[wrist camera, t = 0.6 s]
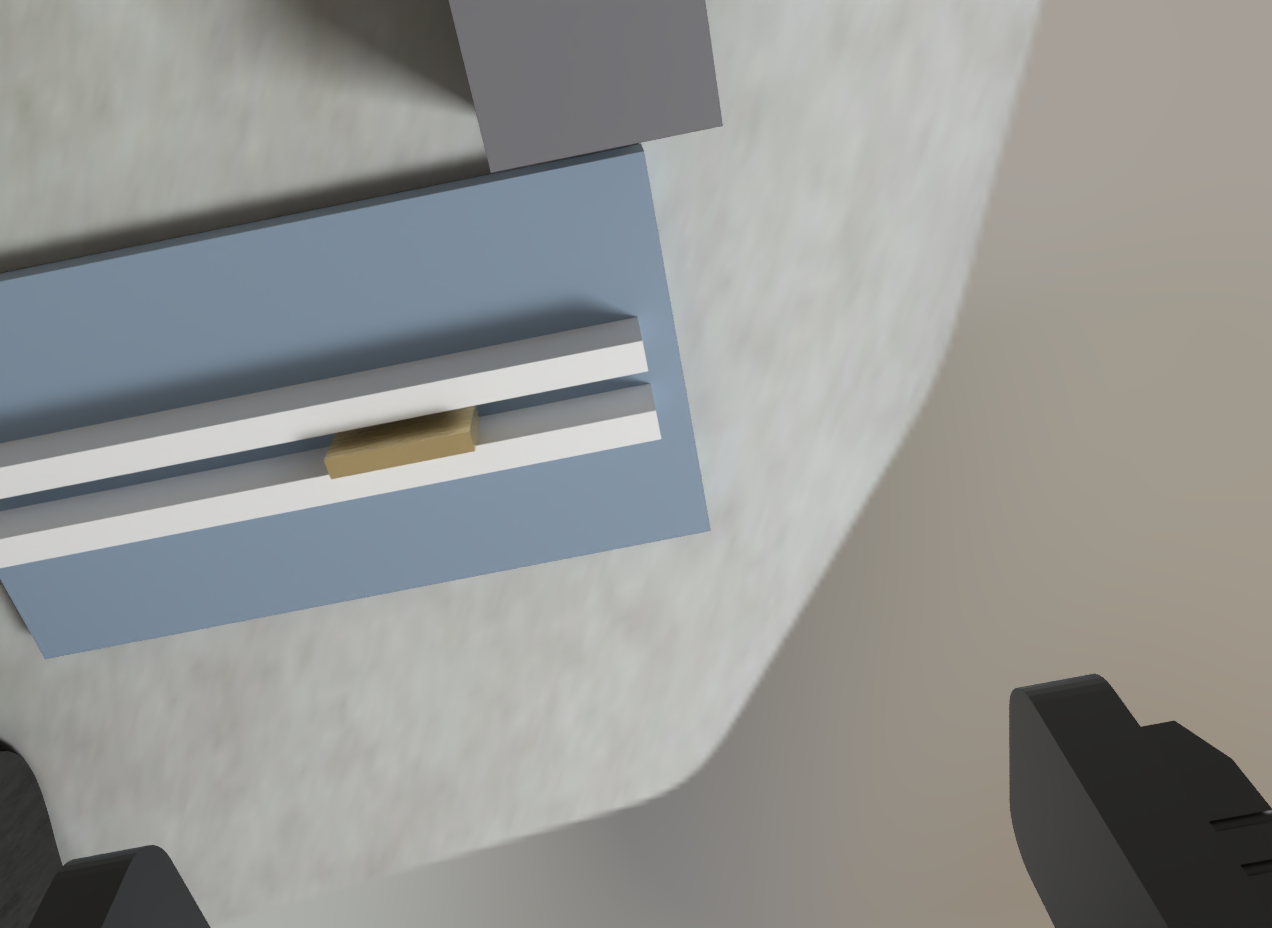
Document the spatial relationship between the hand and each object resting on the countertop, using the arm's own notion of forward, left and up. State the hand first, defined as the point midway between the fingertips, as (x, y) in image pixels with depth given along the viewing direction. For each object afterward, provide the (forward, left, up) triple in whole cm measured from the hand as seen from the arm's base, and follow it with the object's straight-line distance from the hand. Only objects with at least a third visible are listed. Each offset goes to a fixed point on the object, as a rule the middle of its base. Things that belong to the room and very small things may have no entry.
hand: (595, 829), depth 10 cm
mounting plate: (+4, -9, -22) cm, 24 cm away
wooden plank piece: (+4, -6, -20) cm, 21 cm away
